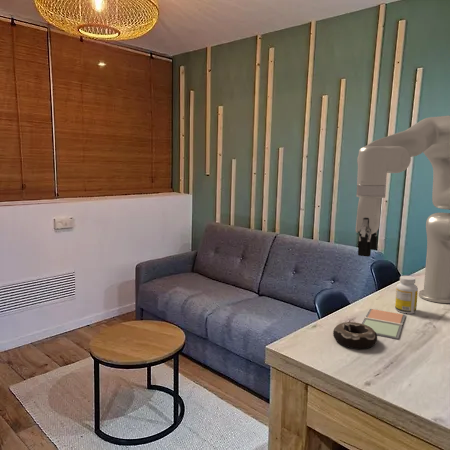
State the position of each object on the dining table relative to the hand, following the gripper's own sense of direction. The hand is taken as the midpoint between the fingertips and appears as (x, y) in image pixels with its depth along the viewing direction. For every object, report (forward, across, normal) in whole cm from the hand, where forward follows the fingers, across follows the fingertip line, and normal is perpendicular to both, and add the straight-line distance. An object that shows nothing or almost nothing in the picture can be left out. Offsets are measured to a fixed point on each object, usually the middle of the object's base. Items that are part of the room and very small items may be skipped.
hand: (367, 252), depth 111 cm
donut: (+25, +6, -1) cm, 25 cm away
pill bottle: (+24, -26, +9) cm, 37 cm away
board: (+24, -11, +4) cm, 27 cm away
